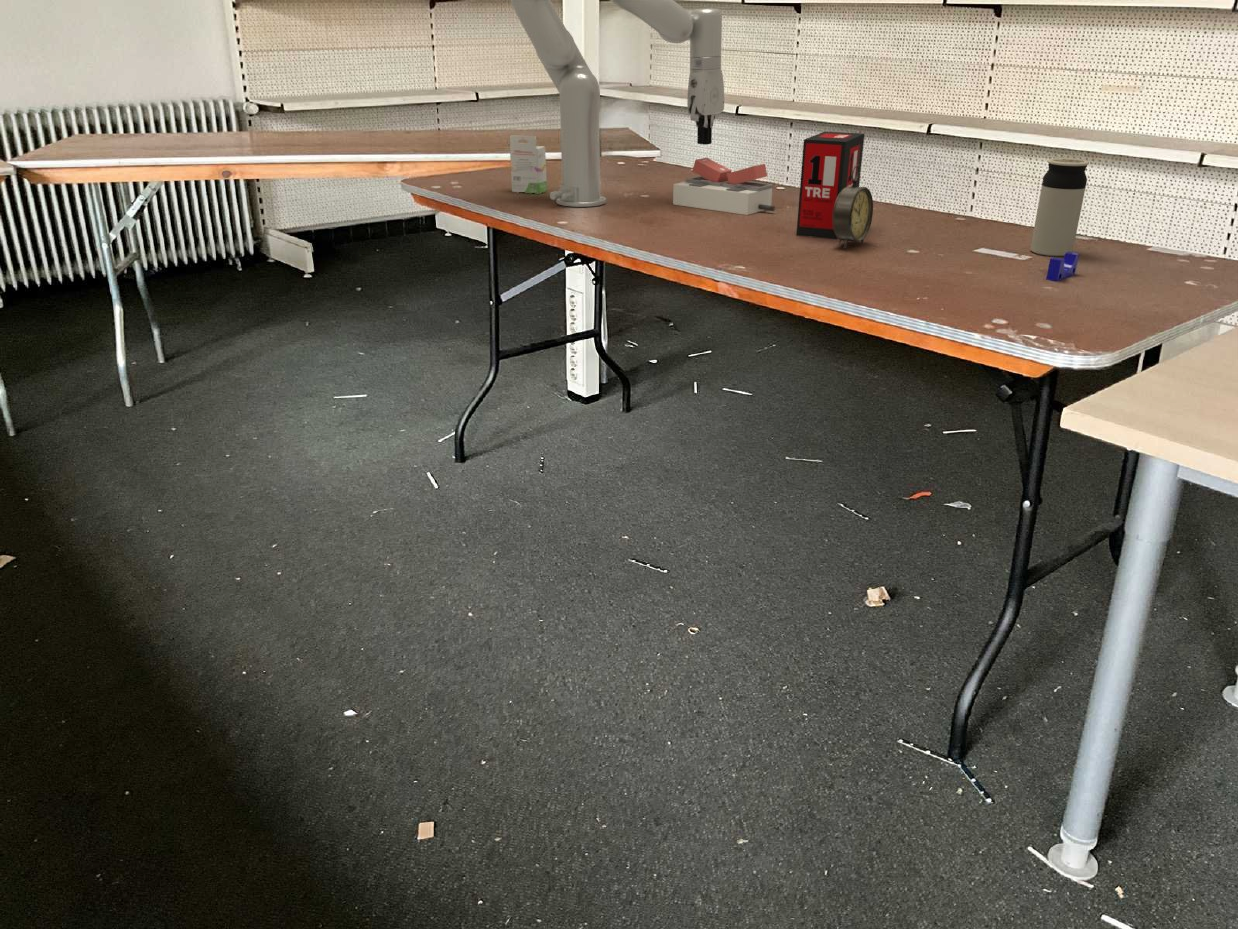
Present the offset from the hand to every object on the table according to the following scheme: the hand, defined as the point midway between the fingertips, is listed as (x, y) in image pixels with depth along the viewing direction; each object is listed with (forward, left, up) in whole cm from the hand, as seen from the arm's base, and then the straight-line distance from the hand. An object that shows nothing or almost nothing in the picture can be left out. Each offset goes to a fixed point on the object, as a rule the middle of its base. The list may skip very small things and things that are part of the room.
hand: (704, 143), depth 243 cm
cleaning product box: (-11, -42, -14) cm, 45 cm away
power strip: (-2, -10, -14) cm, 17 cm away
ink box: (-17, +44, -14) cm, 50 cm away
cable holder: (-21, -94, -15) cm, 98 cm away
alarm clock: (-22, -53, -14) cm, 59 cm away
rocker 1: (0, -3, -7) cm, 8 cm away
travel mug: (-2, -88, -14) cm, 89 cm away
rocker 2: (0, -14, -7) cm, 15 cm away
